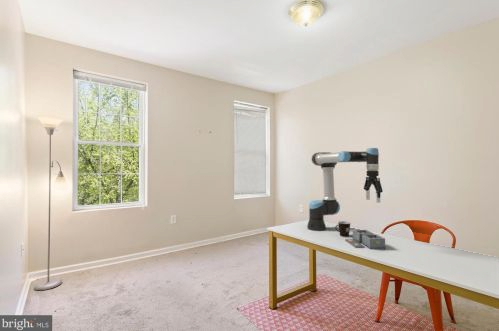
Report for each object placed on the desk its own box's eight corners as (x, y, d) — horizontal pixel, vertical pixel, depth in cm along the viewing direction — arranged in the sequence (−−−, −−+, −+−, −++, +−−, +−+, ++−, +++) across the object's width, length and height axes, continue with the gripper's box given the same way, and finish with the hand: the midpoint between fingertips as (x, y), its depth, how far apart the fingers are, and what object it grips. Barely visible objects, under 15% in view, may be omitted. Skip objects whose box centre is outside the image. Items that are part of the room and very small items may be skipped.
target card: (345, 240, 180) (345, 239, 180) (353, 240, 180) (353, 238, 180) (355, 247, 164) (355, 246, 164) (364, 247, 164) (364, 246, 164)
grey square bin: (352, 238, 183) (352, 230, 183) (366, 238, 184) (366, 229, 184) (359, 243, 173) (359, 233, 173) (373, 243, 174) (373, 233, 174)
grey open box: (362, 244, 172) (362, 234, 171) (376, 243, 172) (376, 234, 172) (370, 249, 161) (370, 239, 161) (385, 248, 162) (385, 238, 162)
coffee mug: (348, 234, 196) (348, 221, 196) (351, 237, 187) (351, 223, 187) (333, 233, 197) (333, 221, 197) (335, 237, 189) (335, 223, 188)
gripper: (358, 170, 187) (358, 198, 187) (377, 170, 162) (377, 203, 162) (368, 169, 187) (368, 198, 187) (388, 170, 162) (388, 203, 162)
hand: (372, 201), depth 175 cm, fingers open, 13 cm apart
